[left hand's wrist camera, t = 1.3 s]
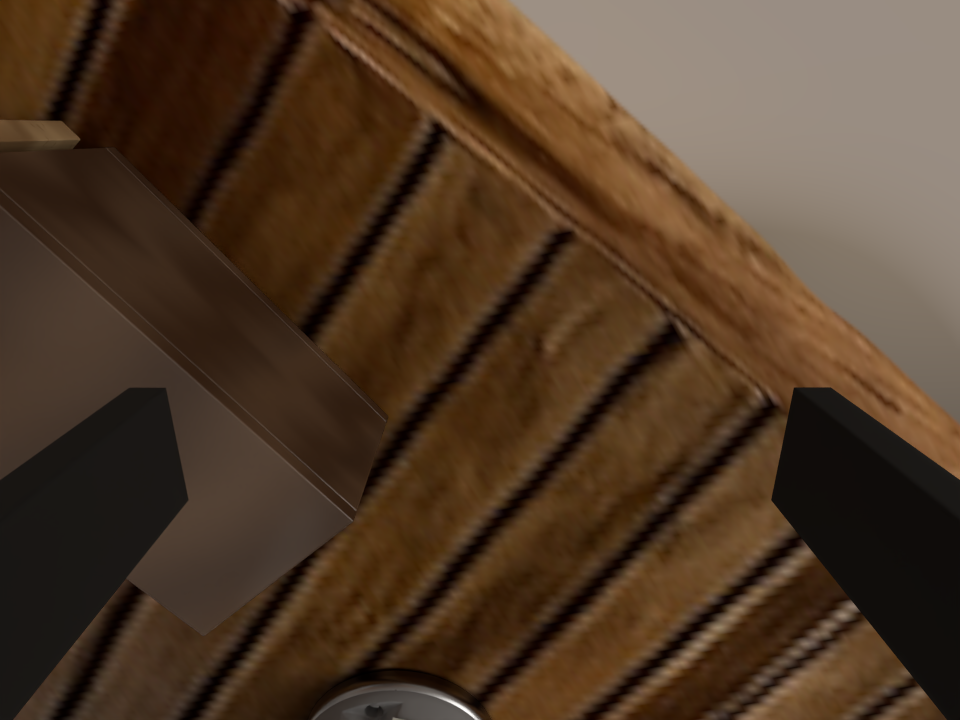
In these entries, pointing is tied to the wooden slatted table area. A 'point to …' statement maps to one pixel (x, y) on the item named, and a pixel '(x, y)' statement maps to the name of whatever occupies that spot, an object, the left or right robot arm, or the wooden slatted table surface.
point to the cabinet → (173, 375)
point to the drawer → (35, 136)
